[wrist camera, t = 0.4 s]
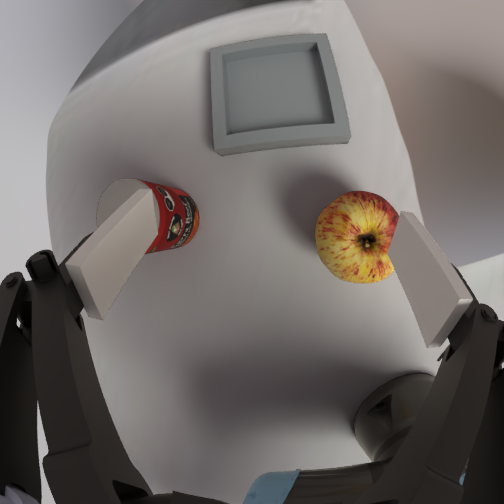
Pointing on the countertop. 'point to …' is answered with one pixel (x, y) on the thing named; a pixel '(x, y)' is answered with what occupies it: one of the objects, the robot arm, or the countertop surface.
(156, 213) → the canned food
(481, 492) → the robot arm
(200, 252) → the countertop surface
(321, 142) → the tray
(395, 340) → the countertop surface
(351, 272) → the apple
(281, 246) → the countertop surface
